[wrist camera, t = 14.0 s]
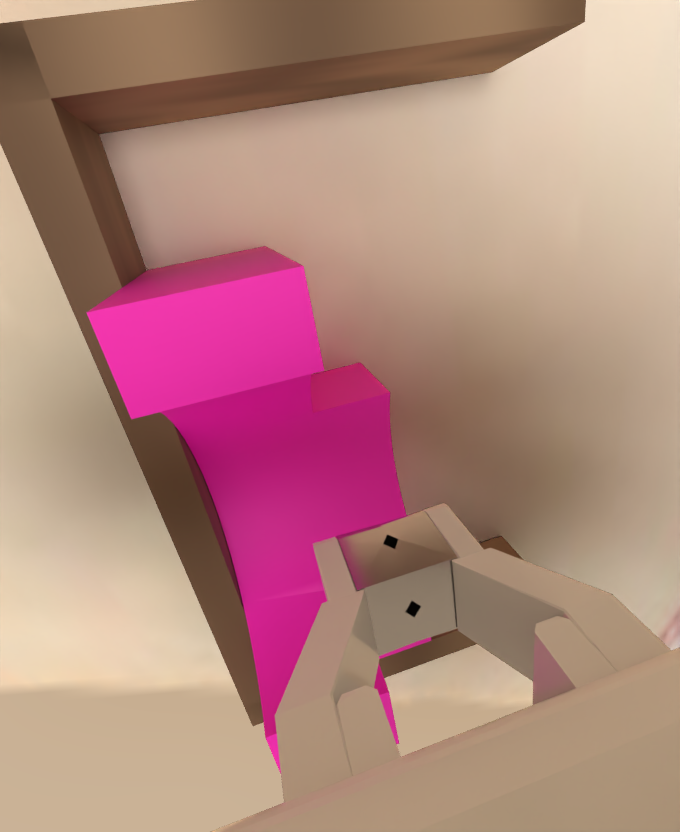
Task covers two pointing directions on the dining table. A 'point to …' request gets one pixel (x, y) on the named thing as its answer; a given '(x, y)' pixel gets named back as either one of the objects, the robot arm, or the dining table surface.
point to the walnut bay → (196, 98)
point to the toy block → (259, 432)
